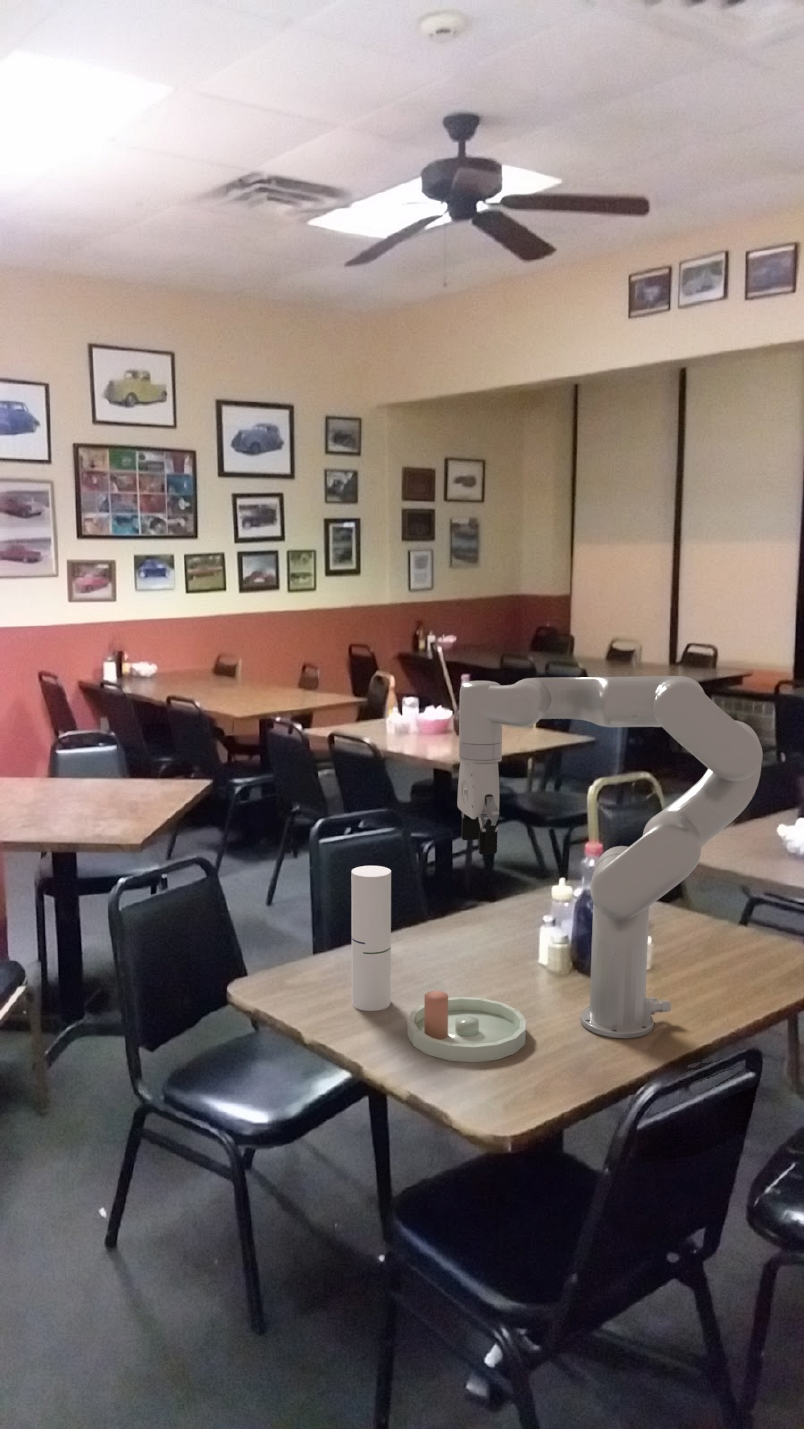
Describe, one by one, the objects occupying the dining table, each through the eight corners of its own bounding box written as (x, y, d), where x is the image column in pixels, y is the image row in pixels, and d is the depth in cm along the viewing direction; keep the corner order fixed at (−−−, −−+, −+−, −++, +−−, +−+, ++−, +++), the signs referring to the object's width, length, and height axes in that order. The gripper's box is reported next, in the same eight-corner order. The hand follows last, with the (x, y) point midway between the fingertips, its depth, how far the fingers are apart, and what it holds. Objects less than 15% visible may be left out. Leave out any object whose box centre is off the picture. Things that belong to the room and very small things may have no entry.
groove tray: (502, 1005, 195) (502, 992, 195) (543, 1054, 176) (543, 1039, 176) (396, 1016, 190) (396, 1002, 190) (426, 1067, 171) (426, 1052, 171)
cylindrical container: (365, 992, 201) (365, 863, 198) (397, 1000, 197) (398, 869, 194) (344, 1005, 195) (343, 872, 191) (377, 1014, 191) (377, 879, 188)
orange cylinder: (421, 1031, 183) (421, 992, 182) (444, 1028, 184) (444, 989, 183) (427, 1041, 179) (428, 1001, 178) (450, 1038, 180) (451, 999, 179)
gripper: (445, 744, 195) (444, 835, 197) (475, 761, 178) (473, 860, 180) (484, 742, 196) (483, 833, 199) (517, 759, 180) (515, 858, 182)
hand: (478, 846), depth 190 cm, fingers open, 9 cm apart
